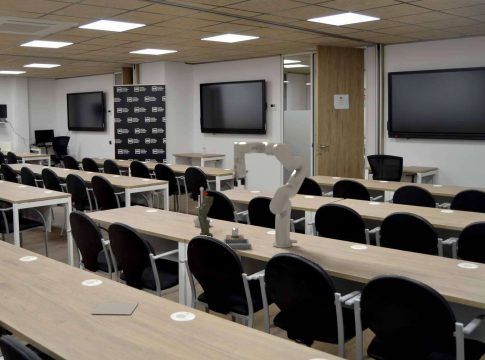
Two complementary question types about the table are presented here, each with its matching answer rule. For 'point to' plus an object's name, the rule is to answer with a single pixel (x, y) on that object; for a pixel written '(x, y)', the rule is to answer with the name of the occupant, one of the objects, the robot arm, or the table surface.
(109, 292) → the table surface
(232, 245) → the tray
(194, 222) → the flag stand
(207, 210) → the mechanical leg
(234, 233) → the pin
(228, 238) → the pin block
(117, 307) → the grey flat slab
